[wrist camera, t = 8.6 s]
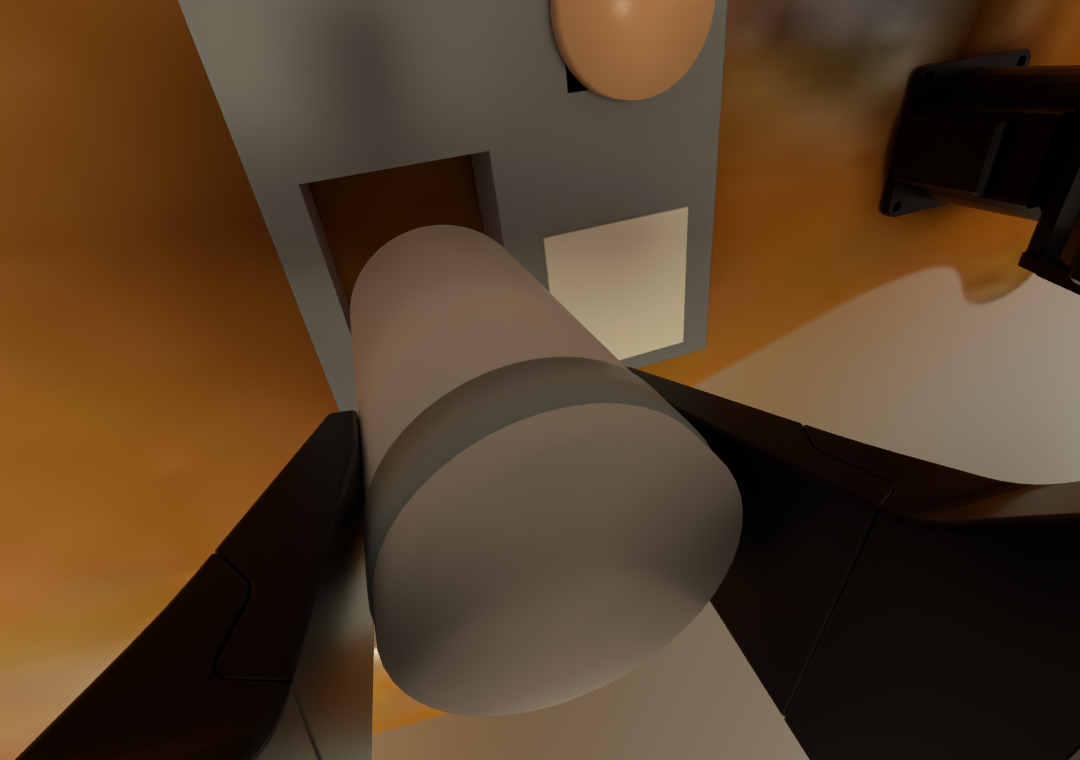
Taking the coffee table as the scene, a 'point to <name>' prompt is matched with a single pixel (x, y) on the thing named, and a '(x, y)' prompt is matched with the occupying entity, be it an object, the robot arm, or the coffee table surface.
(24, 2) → the coffee table surface
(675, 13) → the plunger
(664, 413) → the cylinder
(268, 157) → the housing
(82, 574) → the coffee table surface
